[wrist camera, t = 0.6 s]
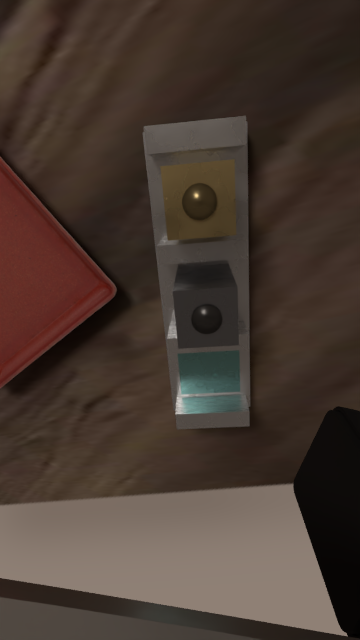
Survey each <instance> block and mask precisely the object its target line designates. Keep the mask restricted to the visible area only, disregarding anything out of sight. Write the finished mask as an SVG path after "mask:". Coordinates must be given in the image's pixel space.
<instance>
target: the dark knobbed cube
mask: <svg viewBox="0 0 360 640" xmlns="http://www.w3.org/2000/svg"><path fill="white" fill-rule="evenodd" d="M173 300H174V311H175V321H176V331H177V341H178V349H183V348H200V347H218V346H235V345H239V327H238V287H237V284H236V281H235V279H234V276H233V274H232V271H231V269H230V266H229V264H216V265H202V266H189V267H177V272H176V277H175V282H174V287H173Z"/></svg>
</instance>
